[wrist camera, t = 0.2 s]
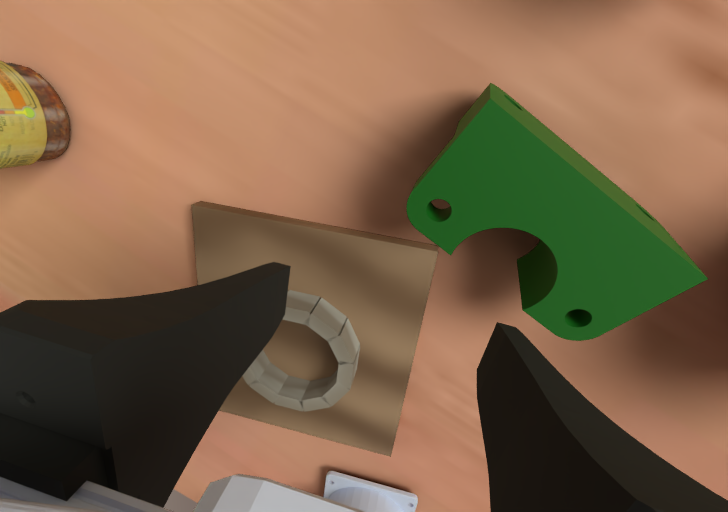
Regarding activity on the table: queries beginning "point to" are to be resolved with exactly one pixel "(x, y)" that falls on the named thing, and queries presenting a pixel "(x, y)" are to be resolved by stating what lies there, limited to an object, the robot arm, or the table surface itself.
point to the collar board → (351, 288)
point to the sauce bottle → (29, 118)
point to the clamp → (550, 221)
